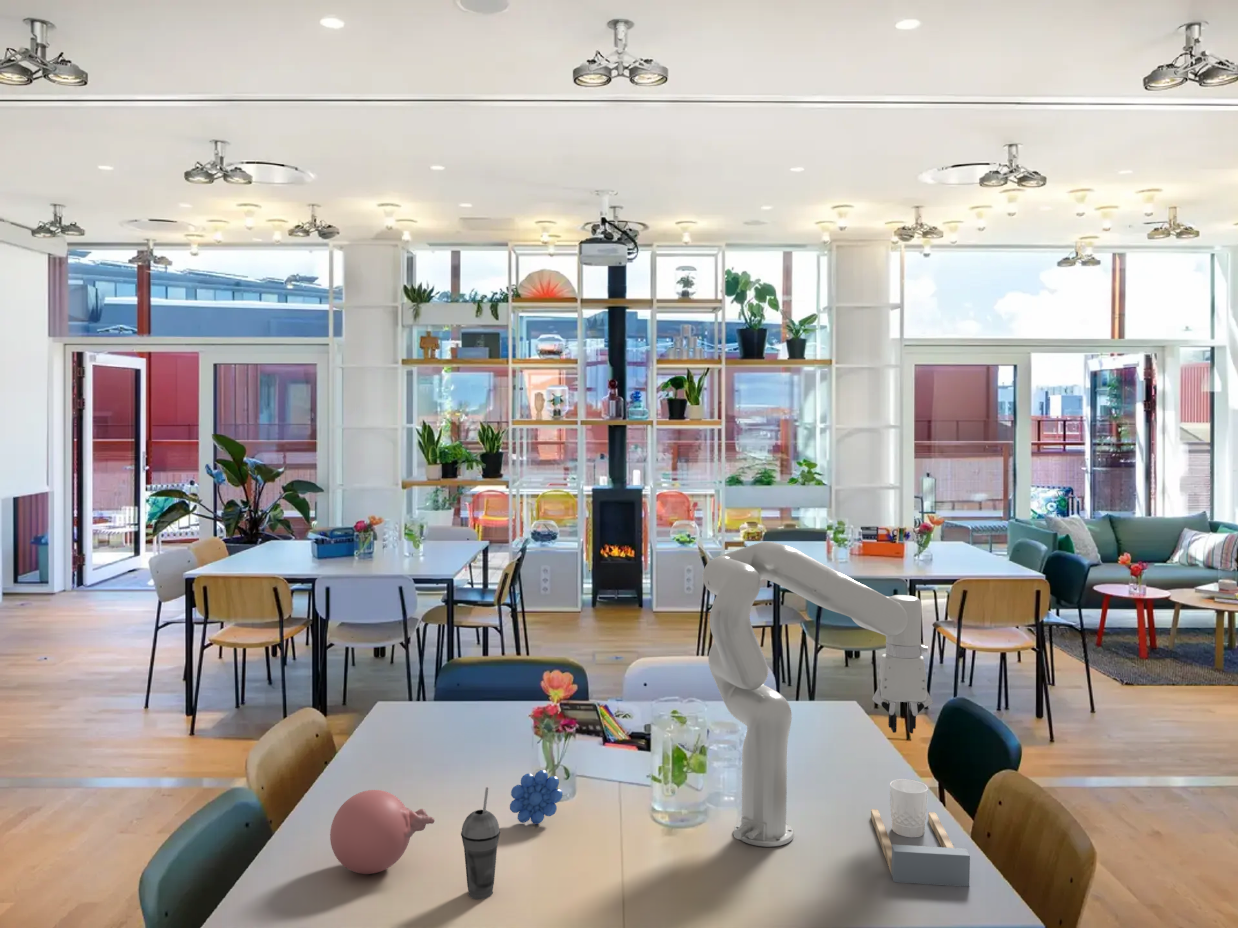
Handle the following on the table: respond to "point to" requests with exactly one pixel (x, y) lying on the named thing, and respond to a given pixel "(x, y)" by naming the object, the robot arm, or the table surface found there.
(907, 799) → the white cup
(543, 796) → the blue flower ornament
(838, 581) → the robot arm
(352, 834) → the balloon
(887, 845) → the guide channel
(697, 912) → the table surface
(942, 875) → the end stop
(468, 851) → the beverage cup
